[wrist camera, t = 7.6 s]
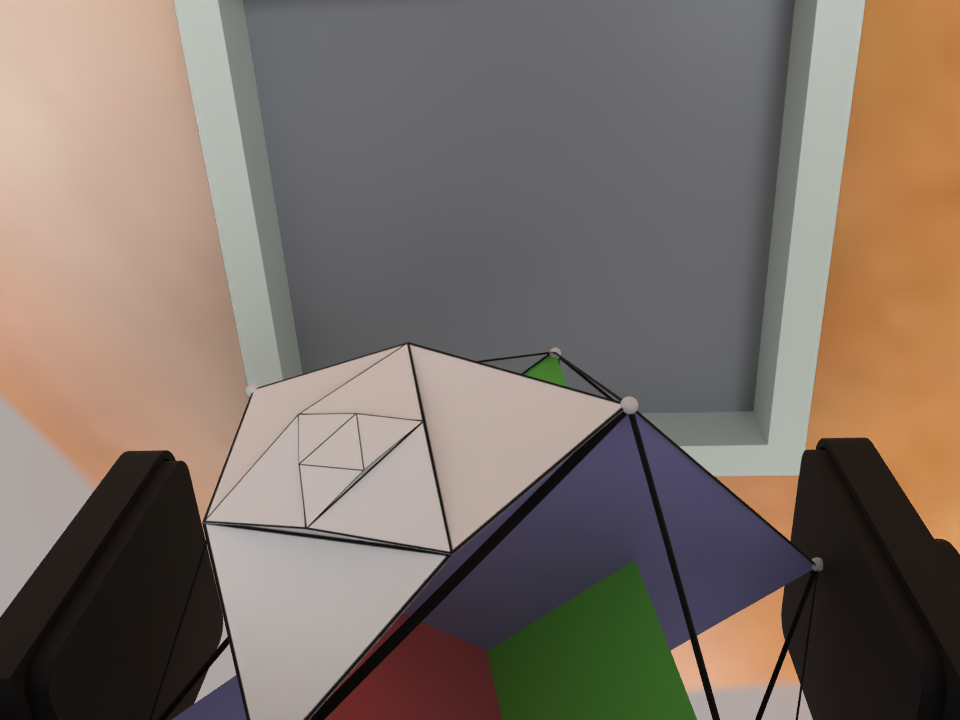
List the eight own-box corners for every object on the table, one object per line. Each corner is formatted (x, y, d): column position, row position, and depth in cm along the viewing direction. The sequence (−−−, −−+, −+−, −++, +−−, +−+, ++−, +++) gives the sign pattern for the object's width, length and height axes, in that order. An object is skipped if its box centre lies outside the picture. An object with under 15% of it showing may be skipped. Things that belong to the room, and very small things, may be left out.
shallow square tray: (862, -123, 20) (907, -127, 18) (792, 436, 27) (817, 490, 25) (180, -84, 22) (134, -82, 19) (276, 443, 28) (251, 495, 26)
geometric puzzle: (958, 709, 12) (1038, 1188, 4) (544, 906, 14) (148, 1439, 7) (651, 271, 14) (363, 107, 6) (336, 504, 16) (-139, 574, 9)
